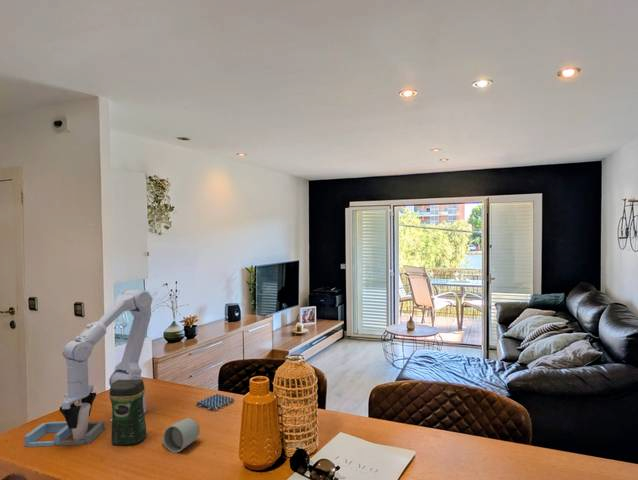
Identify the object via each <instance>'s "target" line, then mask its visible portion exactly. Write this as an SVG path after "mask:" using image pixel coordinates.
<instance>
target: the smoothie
mask: <svg viewBox="0 0 638 480" xmlns="http://www.w3.org/2000/svg"><path fill="white" fill-rule="evenodd" d="M75 405H76V406H81V408H80V410H79V414H78V423H77V428H75V429H72V440H85V435H86V434H87V433H88V431H87V430H88V422H89V417H90V416H89V409H90V408H91V407H90V404H89V403H81V399H80V400H79V402H78V403H75ZM91 409H92V408H91Z"/></svg>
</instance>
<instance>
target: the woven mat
mask: <svg viewBox="0 0 638 480" xmlns="http://www.w3.org/2000/svg"><path fill="white" fill-rule="evenodd" d="M234 403H235V399H234V398H233V397H230V396H227V395H226V396H224V394H223V395H222V394H219V393H215V394H212V396H211V395H209V396H208V397H207V398H203V399H201V400H199V401H197V402H196V404H195V406H196V407H197V408H201V409H203V410H206V411H210V412H213V413H217V411H220V410H222V409H223V408H225V407H227V406H230V405H232V404H234Z"/></svg>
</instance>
